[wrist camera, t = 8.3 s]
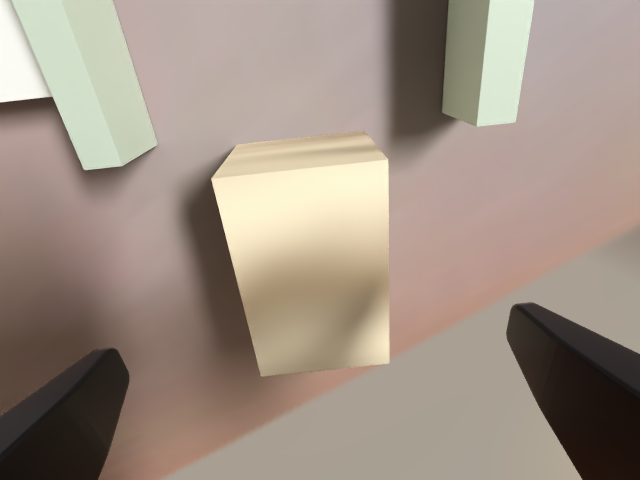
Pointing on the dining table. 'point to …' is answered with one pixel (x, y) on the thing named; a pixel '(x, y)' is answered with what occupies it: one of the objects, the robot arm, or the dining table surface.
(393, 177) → the dining table surface
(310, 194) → the block
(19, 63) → the stand
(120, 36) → the shelf bay
